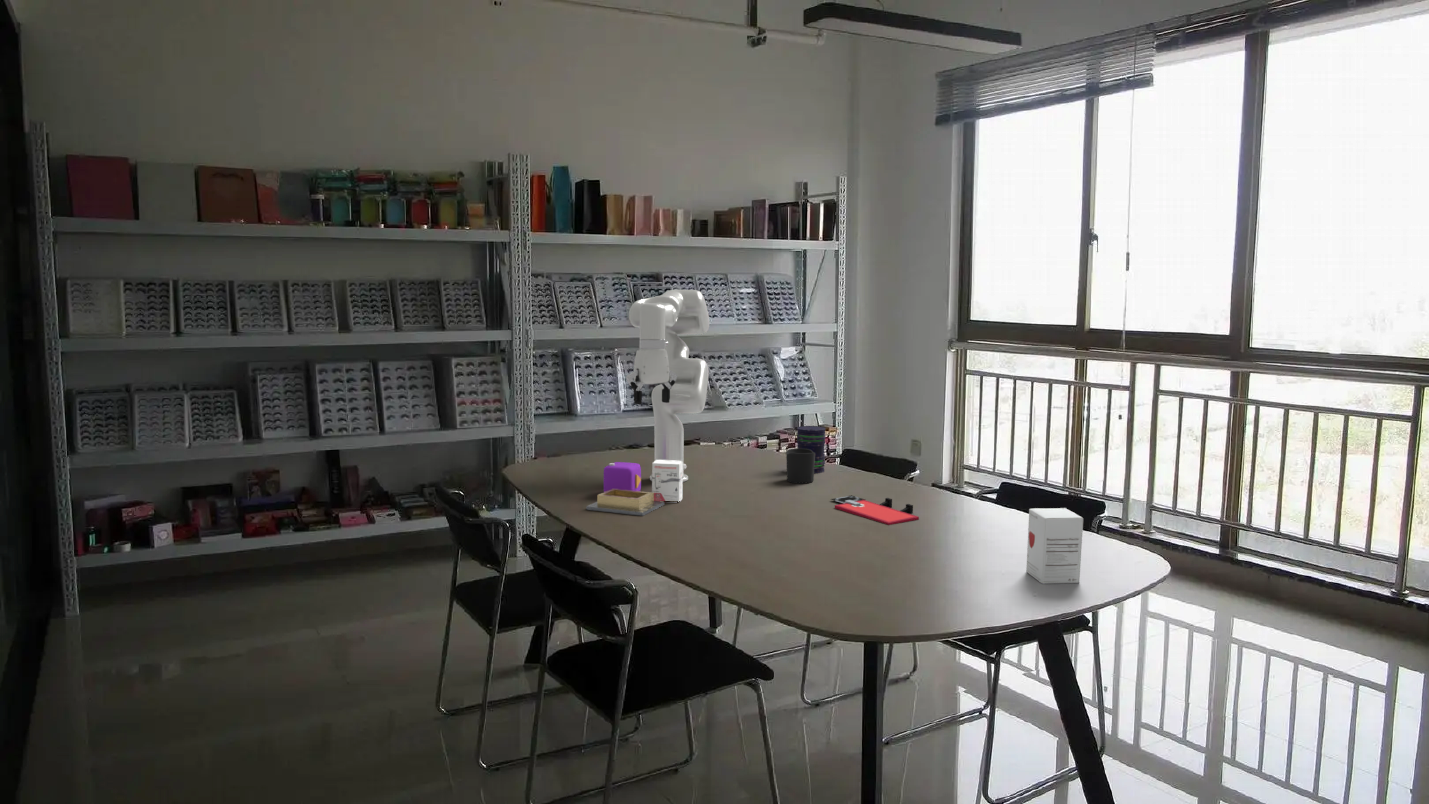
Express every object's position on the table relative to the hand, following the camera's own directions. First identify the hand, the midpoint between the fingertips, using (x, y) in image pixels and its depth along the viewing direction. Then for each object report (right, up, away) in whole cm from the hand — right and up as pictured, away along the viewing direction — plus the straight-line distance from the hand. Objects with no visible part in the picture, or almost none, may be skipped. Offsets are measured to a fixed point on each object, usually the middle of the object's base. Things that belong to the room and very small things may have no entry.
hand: (651, 403), depth 290 cm
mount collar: (-7, -30, -8) cm, 32 cm away
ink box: (+4, -29, +1) cm, 30 cm away
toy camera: (-9, -28, +10) cm, 31 cm away
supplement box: (+94, -39, -71) cm, 124 cm away
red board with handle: (+64, -31, -9) cm, 72 cm away
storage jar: (+52, -24, +47) cm, 74 cm away
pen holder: (+47, -26, +30) cm, 61 cm away
